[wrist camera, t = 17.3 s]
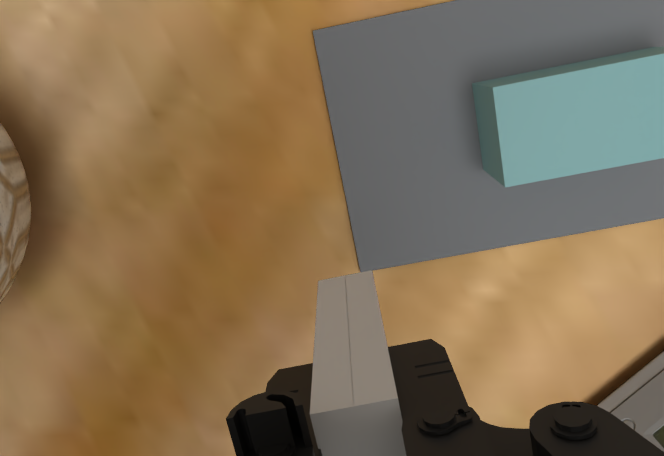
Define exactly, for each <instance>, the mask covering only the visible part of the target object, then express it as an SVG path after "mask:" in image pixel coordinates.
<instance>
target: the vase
mask: <svg viewBox="0 0 664 456" xmlns="http://www.w3.org/2000/svg"><path fill="white" fill-rule="evenodd" d="M30 223H31V201H30V192H29V187H28V182H27V178H26V174H25V170H24V167H23V164H22V162H21V159H20V157H19V154H18V152H17V150H16V148H15V146H14V144H13V142H12V140H11V138H10V137H9V135H8V133H7V132H6V130H5V128H4V127H3V126H2V124H1V123H0V303H1V301H2V300H3V299H4V297H5V296H6V294H7V293H8V291H9V289H10V287H11V286H12V284H13V282H14V280H15V277H16V275H17V273H18V271H19V268H20V266H21V264H22V261H23V258H24V255H25V251H26V247H27V243H28V237H29V231H30Z"/></svg>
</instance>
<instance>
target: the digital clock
mask: <svg viewBox="0 0 664 456" xmlns="http://www.w3.org/2000/svg"><path fill="white" fill-rule="evenodd" d="M597 406H598V407H600V408H602V409H604V410H606V411H608V412H610V413H611V414H613V415H614V416H616V417H617V418H618V419H620V420H621V421H622V422H624V423H625V424H626V425H628V426H629V427H631V428H632V429H633V430H635V431H636V432H637V433H639V434H640V435H641V436H643V437H644V438H645V439H647V440H648V441H650V442H651V443H652V444H654V445H655V446H656V447H658V448H659V449H660V450H662V451H663V452H664V351H663V352H661V353H660V354H659V355H658V356H657V357H655V358H654V359H653V360H652V361H650V362H649V363H648V364H647V365H645V366H644V367H643V368H642V369H641V370H639V371H638V372H637V373H636V374H634V375H633V376H632V377H631V378H629V379H628V380H627V381H626V382H625V383H623V384H622V385H621V386H620V387H618V388H617V389H616V390H615V391H614V392H612V393H611V394H610V395H609V396H607V397H606V398H605V399H604V400H602V401H601V402H600V403H599V405H597Z"/></svg>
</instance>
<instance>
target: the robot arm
mask: <svg viewBox="0 0 664 456" xmlns="http://www.w3.org/2000/svg"><path fill="white" fill-rule="evenodd" d="M226 421H227V424H228V428H229V431H230V435H231V438H232V442H233V445H234V449H235V452H236V456H664V452H663V451H662V450H660V449H659V448H658V447H656V446H655V445H654V444H652V443H651V442H650V441H648V440H647V439H645V438H644V437H643V436H641V435H640V434H639V433H637V432H636V431H635V430H633V429H632V428H631V427H629V426H628V425H626V424H625V423H624V422H622V421H621V420H620V419H618V418H617V417H616V416H614V415H613V414H611V413H610V412H608V411H606V410H604V409H602V408H600V407H598V406H596V405H592V404H587V403H583V402H561V403H556V404H551V405H548V406H546V407H544V408H542V409H540V410H538V411H537V412H536V413H535V414H534V415H533V417H532V418H531V419H530V427H529V429H515V428H503V427H498V426H494V425H490V424H488V423H485V422H483V421H481V420H480V418H479V416H478V414H477V413H476V412H475V411H474V410H473V408H471V407H469V406H468V404H467V402H466V399H465V397H464V394H463V392H462V390H461V387H460V385H459V382H458V380H457V377H456V375H455V372H454V370H453V367H452V365H451V362H450V361H449V358H448V355H447V353H446V350H445V348H444V347H443V346H441V345H440V344H438V343H437V342H435V341H433V340H432V339H428V340H423V341H418V342H412V343H407V344H402V345H397V346H391V347H387V342H386V337H385V332H384V327H383V322H382V317H381V312H380V307H379V302H378V297H377V292H376V287H375V282H374V277H373V272H372V270H370V271H365V272H360V273H355V274H350V275H345V276H340V277H335V278H330V279H325V280H320V281H318V293H317V309H316V324H315V340H314V355H313V363H311V364H306V365H300V366H295V367H290V368H285V369H279V370H278V371H277V372H276V373H275V375H274V376H273V377H272V378H271V379H270V380H269V382H268V383H267V388H266V392H264V393H261V394H257V395H254V396H252V397H250V398H248V399H246V400H244V401H242V402H241V403H239V404H238V405H237V406H236V407H234V408H233V409H232V410H231V411H230V413H229V415H228V416H227V418H226Z"/></svg>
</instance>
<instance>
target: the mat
mask: <svg viewBox="0 0 664 456" xmlns="http://www.w3.org/2000/svg"><path fill="white" fill-rule="evenodd" d="M313 35H314V40H315V45H316V50H317V56H318V61H319V66H320V71H321V76H322V81H323V86H324V91H325V96H326V101H327V106H328V111H329V116H330V121H331V126H332V131H333V136H334V141H335V146H336V151H337V156H338V161H339V166H340V171H341V176H342V181H343V186H344V191H345V196H346V201H347V206H348V212H349V217H350V222H351V227H352V232H353V237H354V242H355V247H356V252H357V257H358V262H359V267H360V272H365V271H370V270H378V269H384V268H389V267H395V266H400V265H406V264H411V263H417V262H422V261H428V260H434V259H439V258H445V257H450V256H456V255H461V254H467V253H473V252H478V251H484V250H489V249H495V248H500V247H506V246H511V245H517V244H523V243H528V242H534V241H539V240H545V239H550V238H556V237H562V236H567V235H573V234H578V233H584V232H589V231H595V230H600V229H606V228H612V227H617V226H623V225H628V224H634V223H639V222H645V221H651V220H656V219H662V218H664V158H661V159H656V160H650V161H645V162H640V163H634V164H629V165H624V166H618V167H613V168H607V169H602V170H597V171H591V172H586V173H580V174H575V175H570V176H564V177H559V178H554V179H548V180H543V181H537V182H532V183H527V184H521V185H516V186H511V187H504V186H503V185H501V184H500V183H499V182H498V181H497V180H495V179H494V178H493V177H492V176H490V175H489V174H488V173H487V172H485V171H484V170H483V164H482V156H481V149H480V141H479V133H478V126H477V118H476V111H475V103H474V96H473V88H472V83H476V82H481V81H486V80H491V79H496V78H501V77H506V76H511V75H516V74H521V73H526V72H531V71H536V70H541V69H546V68H551V67H556V66H561V65H566V64H571V63H576V62H581V61H586V60H591V59H596V58H601V57H606V56H611V55H616V54H621V53H626V52H631V51H636V50H641V49H646V48H651V47H664V0H455V1H451V2H446V3H441V4H436V5H432V6H427V7H422V8H418V9H413V10H408V11H403V12H399V13H394V14H389V15H385V16H380V17H375V18H371V19H366V20H361V21H356V22H352V23H347V24H342V25H338V26H333V27H328V28H323V29H319V30H314V31H313Z"/></svg>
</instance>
